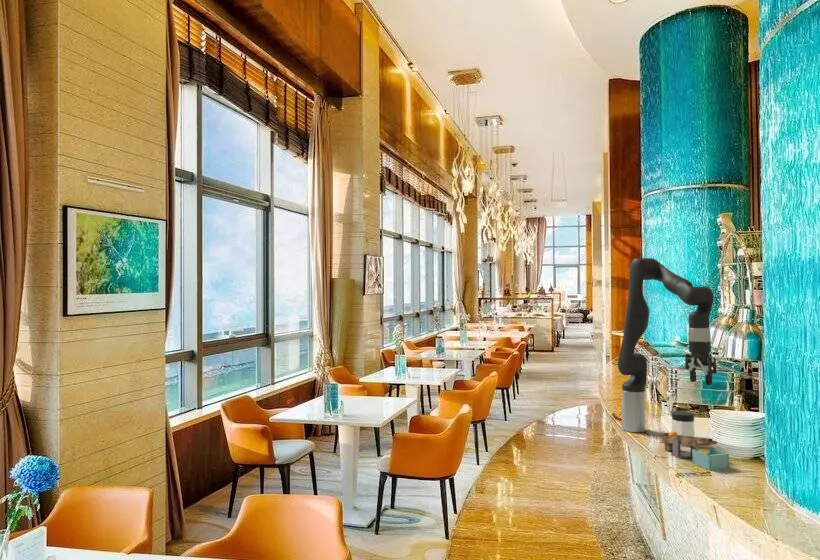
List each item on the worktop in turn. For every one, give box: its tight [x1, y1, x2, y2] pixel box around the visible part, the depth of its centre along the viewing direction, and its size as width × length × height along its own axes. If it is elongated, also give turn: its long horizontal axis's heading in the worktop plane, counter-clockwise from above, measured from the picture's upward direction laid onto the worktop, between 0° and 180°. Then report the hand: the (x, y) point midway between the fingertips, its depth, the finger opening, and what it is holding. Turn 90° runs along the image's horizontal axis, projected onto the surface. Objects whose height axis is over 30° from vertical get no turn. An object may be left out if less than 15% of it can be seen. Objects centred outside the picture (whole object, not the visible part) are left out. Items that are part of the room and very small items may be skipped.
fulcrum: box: [670, 438, 699, 460], centre depth 228 cm, size 5×9×6 cm, turn 105°
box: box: [691, 446, 730, 471], centre depth 216 cm, size 9×8×5 cm
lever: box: [661, 432, 718, 452], centre depth 229 cm, size 18×10×6 cm, turn 15°
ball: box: [668, 430, 678, 437], centre depth 235 cm, size 3×3×3 cm
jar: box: [671, 410, 696, 437], centre depth 246 cm, size 9×8×12 cm
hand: (700, 383), depth 230 cm, fingers open, 8 cm apart
